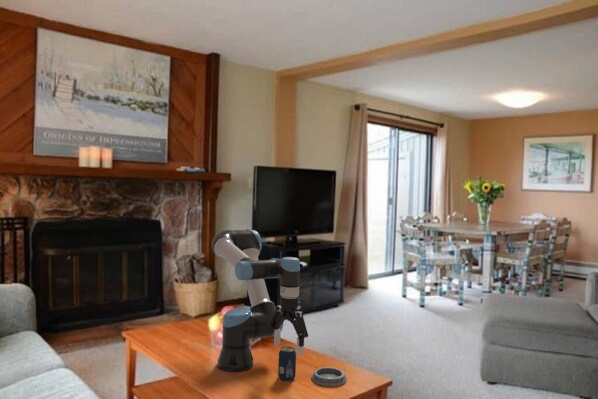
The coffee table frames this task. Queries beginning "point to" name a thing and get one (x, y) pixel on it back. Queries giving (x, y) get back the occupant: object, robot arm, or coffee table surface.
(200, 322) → the coffee table surface
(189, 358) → the coffee table surface
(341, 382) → the can holder
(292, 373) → the soda can
